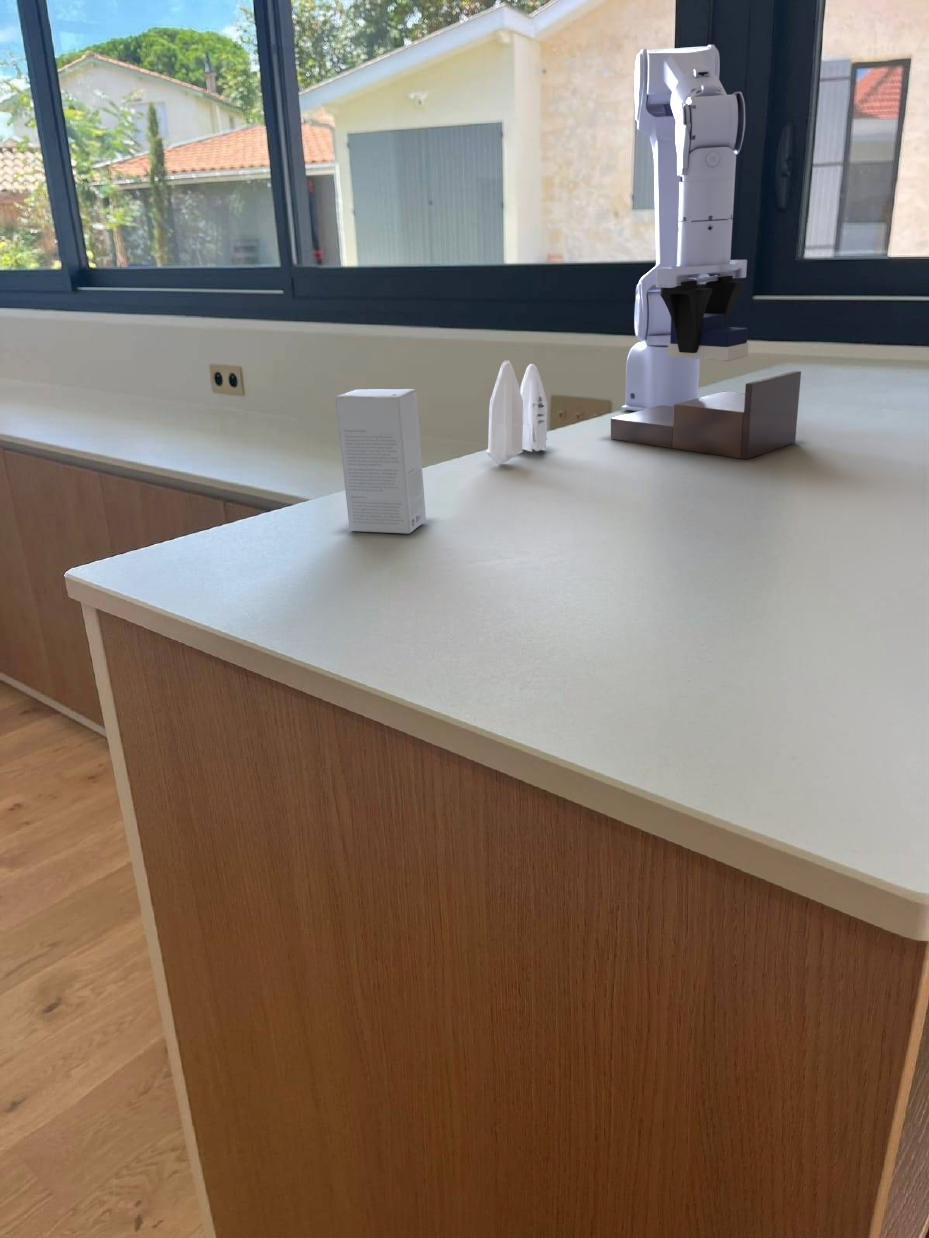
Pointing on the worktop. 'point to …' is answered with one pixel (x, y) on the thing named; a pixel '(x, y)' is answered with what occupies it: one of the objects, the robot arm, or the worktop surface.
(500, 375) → the shaker set
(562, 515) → the worktop surface
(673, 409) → the step shelf
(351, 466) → the cosmetic box
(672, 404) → the robot arm
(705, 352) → the navy stepped block
